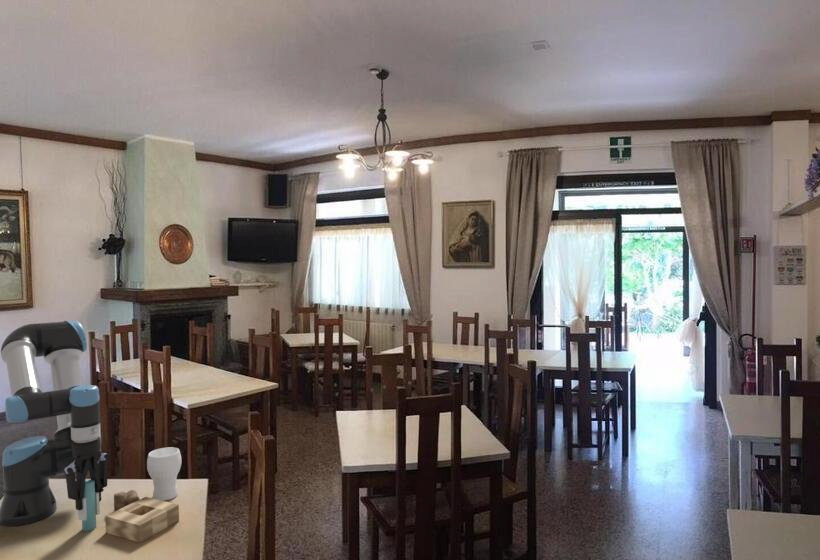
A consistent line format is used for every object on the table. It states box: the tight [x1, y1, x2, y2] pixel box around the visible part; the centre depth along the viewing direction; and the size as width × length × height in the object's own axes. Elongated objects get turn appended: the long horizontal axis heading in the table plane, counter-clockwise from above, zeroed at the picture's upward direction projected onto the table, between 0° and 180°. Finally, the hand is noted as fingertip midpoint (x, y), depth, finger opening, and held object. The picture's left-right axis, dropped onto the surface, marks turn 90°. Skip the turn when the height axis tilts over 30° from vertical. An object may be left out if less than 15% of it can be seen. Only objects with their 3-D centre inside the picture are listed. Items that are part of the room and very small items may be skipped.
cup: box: [146, 446, 182, 502], centre depth 187 cm, size 11×11×15 cm
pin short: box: [113, 491, 127, 512], centre depth 178 cm, size 4×4×5 cm
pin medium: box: [126, 489, 141, 505], centre depth 181 cm, size 4×4×8 cm
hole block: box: [104, 496, 180, 543], centre depth 167 cm, size 14×14×5 cm
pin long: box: [81, 479, 97, 532], centre depth 166 cm, size 4×4×14 cm
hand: (89, 516), depth 166 cm, fingers closed on pin long, 3 cm apart
